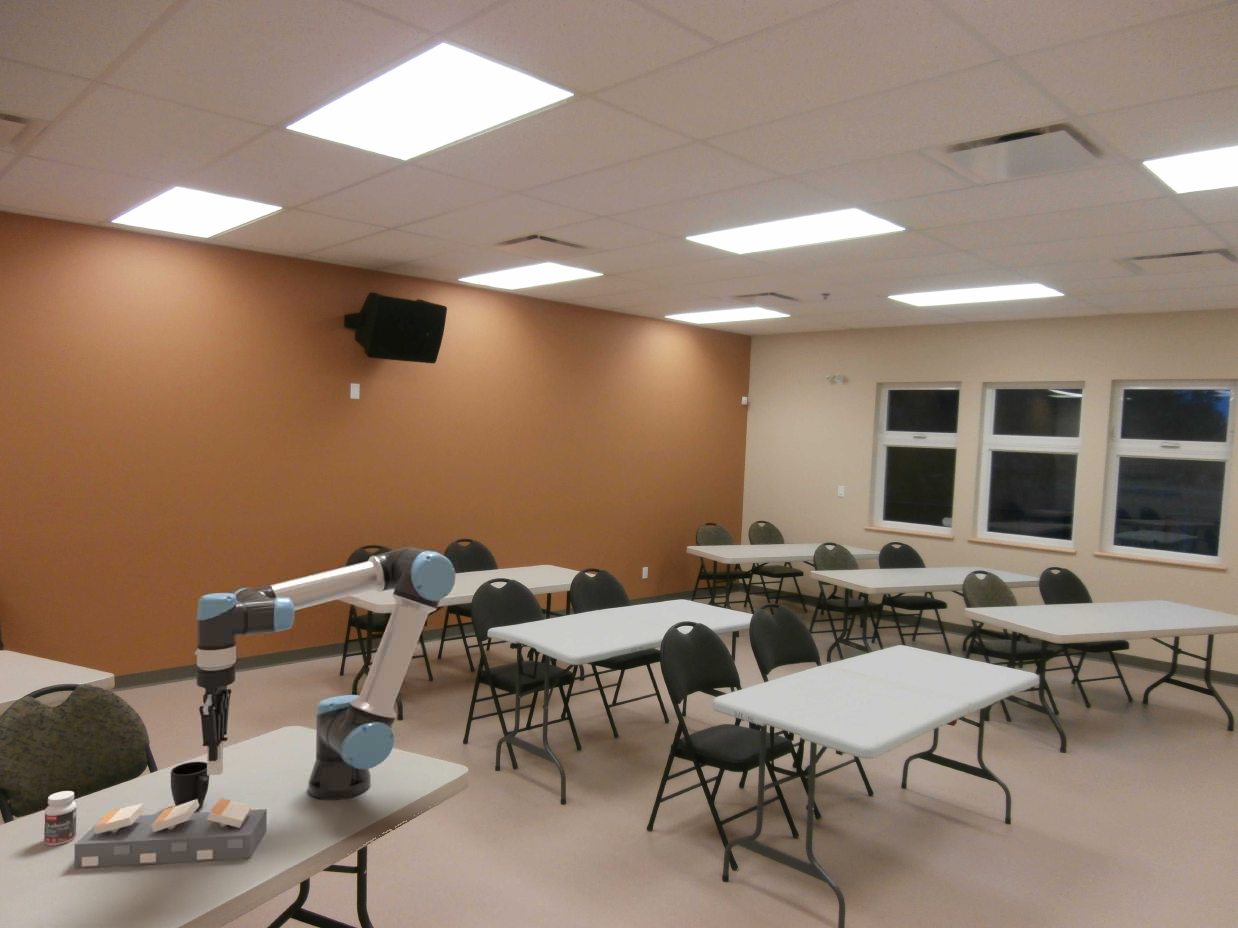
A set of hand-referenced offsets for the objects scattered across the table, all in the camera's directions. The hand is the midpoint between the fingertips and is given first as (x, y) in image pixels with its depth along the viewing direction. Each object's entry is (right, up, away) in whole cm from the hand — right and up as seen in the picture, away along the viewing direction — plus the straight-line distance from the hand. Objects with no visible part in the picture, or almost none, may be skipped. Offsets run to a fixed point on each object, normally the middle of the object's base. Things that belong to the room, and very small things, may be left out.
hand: (214, 773), depth 170 cm
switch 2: (-7, -10, -1) cm, 13 cm away
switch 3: (+3, -10, +1) cm, 11 cm away
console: (-8, -16, -1) cm, 18 cm away
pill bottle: (-35, -16, +2) cm, 38 cm away
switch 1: (-18, -10, -3) cm, 21 cm away
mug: (-14, -16, +17) cm, 27 cm away
